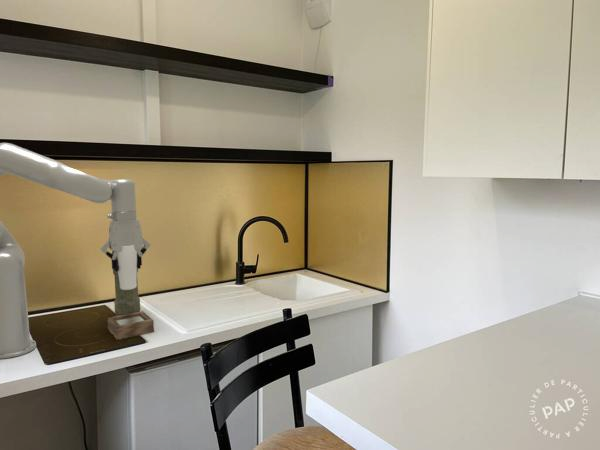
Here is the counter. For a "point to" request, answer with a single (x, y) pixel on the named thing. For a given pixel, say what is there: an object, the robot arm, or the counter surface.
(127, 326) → the wooden tray
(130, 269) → the drinking glass
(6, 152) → the robot arm
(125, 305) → the stone statue
